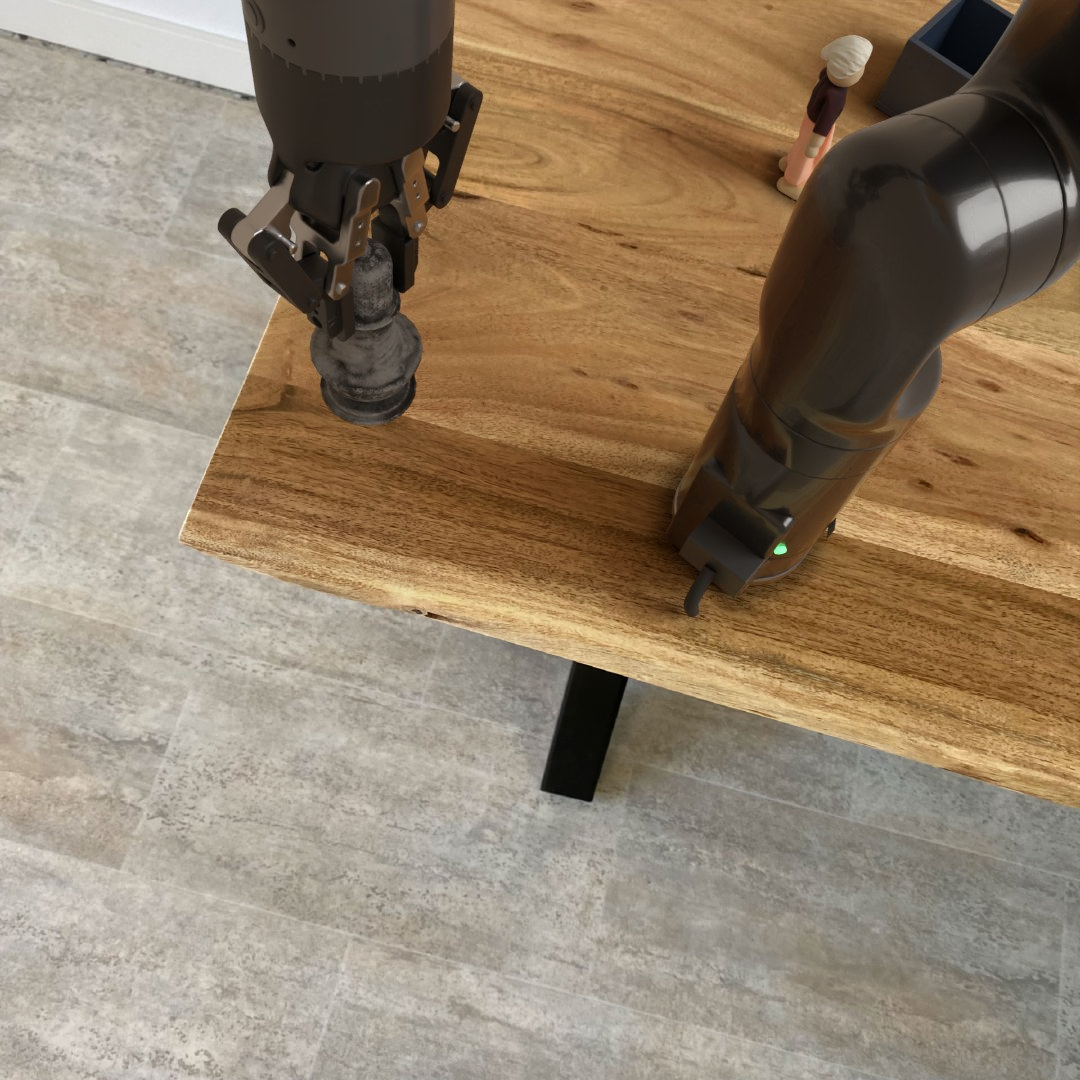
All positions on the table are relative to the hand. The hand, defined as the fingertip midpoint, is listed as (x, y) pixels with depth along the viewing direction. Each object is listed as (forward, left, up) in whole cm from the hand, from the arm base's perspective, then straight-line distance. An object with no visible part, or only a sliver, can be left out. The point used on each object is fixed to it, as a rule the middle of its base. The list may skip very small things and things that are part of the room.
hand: (365, 302), depth 54 cm
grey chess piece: (0, 0, -7) cm, 7 cm away
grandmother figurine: (+42, -5, -18) cm, 46 cm away
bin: (+58, -10, -18) cm, 62 cm away
